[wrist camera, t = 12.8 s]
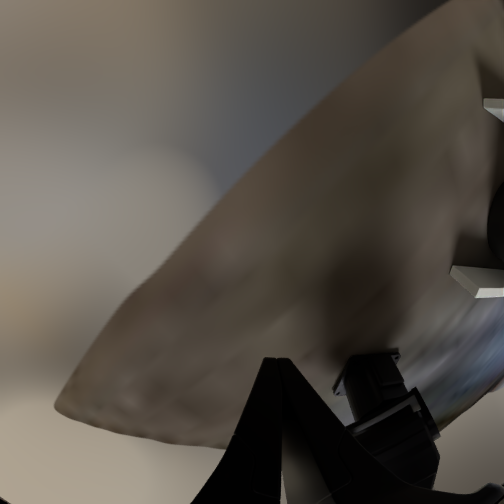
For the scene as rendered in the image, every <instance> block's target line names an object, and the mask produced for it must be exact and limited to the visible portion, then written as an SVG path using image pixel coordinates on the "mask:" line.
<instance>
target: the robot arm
mask: <svg viewBox="0 0 504 504" xmlns="http://www.w3.org/2000/svg"><path fill="white" fill-rule="evenodd" d="M400 357H401V355H400V353H399V352H395V353H385V354H374V355H360V356H352V357H351V358H350V359H349V360H348V362H347V365H346V367H345V369H344V371H343V373H342V375H341V377H340V379H339V381H338V383H337V385H336V387H335V389H334V391H333V393H334V396H343V395H347V398H348V401H349V404H350V408H351V411H352V414H353V417H354V420H355V422H354V423H352V424H350V425H348V426H346V427H345V426H344V425H343V424H342V422H341V421H340V420H339V419H338V418H337V416H336V415H335V414H334V413H333V412H332V410H331V409H330V408H329V407H328V406H327V404H326V403H325V402H324V401H323V400H322V398H321V397H320V396H319V395H318V393H317V392H316V391H315V390H314V389H313V387H312V386H311V385H310V384H309V382H308V381H307V380H306V379H305V377H304V376H303V375H302V374H301V372H300V371H299V370H298V369H297V367H296V366H295V365H294V364H293V362H292V361H291V360H290V359H289V358H277V359H276V358H271V357H265V358H264V359H263V361H262V364H261V367H260V369H259V372H258V374H257V377H256V380H255V382H254V385H253V387H252V390H251V392H250V395H249V397H248V400H247V402H246V405H245V407H244V410H243V412H242V415H241V417H240V420H239V422H238V424H237V427H236V429H235V431H234V435H233V436H232V438H231V440H230V443H229V445H228V447H227V449H226V451H225V453H224V455H223V457H222V459H221V460H220V462H219V464H218V466H217V467H216V469H215V470H214V472H213V473H212V475H211V476H210V477H209V479H208V480H207V482H206V483H205V485H204V486H203V487H202V489H201V490H200V492H199V493H198V494H197V496H196V497H195V498H194V500H193V501H192V502H191V503H190V504H280V498H281V471H282V475H283V480H284V486H285V492H286V498H287V504H504V483H503V484H501V485H498V484H494V483H487V484H486V485H484V486H482V487H481V488H479V489H478V490H476V491H474V492H473V493H471V494H455V493H448V492H441V491H436V490H435V488H434V486H433V485H434V481H435V477H436V474H437V469H438V465H439V460H440V455H439V453H438V450H437V448H436V445H435V443H434V441H435V440H436V439H438V438H439V437H440V433H439V431H438V428H437V426H436V424H435V422H434V420H433V418H432V416H431V414H430V412H429V410H428V408H427V406H426V404H425V402H424V400H423V399H422V397H421V395H420V393H419V391H418V389H417V388H416V387H414V388H413V389H411V391H409V392H408V391H407V389H406V387H405V385H404V383H403V382H404V379H403V377H402V375H401V373H400V372H399V370H398V368H397V366H396V364H397V362H398V361H399V359H400ZM420 408H421V410H419V411H417V410H418V409H420ZM415 411H416V412H415ZM0 504H10V503H9V502H7V501H6V500H4V499H3V498H1V497H0Z"/></svg>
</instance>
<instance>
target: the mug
mask: <svg viewBox="0 0 504 504" xmlns="http://www.w3.org/2000/svg"><path fill="white" fill-rule="evenodd" d="M488 240H489V245H490V248H491V250H492V252H493V253H494V254H495V256H497V257H498V258H500V259H501V260H503V261H504V183H503V184H502V185H501V186H500V188H499V190H498V192H497V194H496V196H495V198H494V201H493V204H492V207H491V211H490V216H489V223H488Z"/></svg>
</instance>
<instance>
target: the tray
mask: <svg viewBox="0 0 504 504" xmlns="http://www.w3.org/2000/svg"><path fill="white" fill-rule="evenodd" d="M483 108H484V109H486V110H487V111H489V112H490V113H492V114H493V115H494V116H496V117H497V118H498V119H500V120H501V121H502V122H504V99H487V98H484V101H483ZM449 275H451V276H452V277H453V278H454V279H455V280H456V281H457V282H458V283H460V284H461V285H462V286H463V287H464V288H465V289H466V290H467V291H468V292H469V293H470V294H472V295H473V296H474V297H475V298H485V297H504V270H499V269H488V268H477V267H465V266H454V265H453V266H452V268H451V271H450V274H449Z"/></svg>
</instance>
